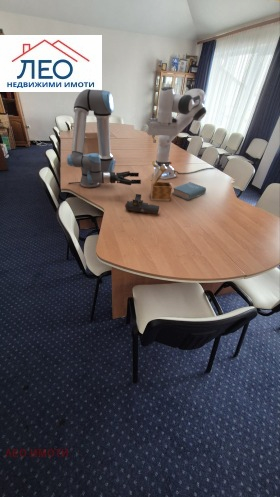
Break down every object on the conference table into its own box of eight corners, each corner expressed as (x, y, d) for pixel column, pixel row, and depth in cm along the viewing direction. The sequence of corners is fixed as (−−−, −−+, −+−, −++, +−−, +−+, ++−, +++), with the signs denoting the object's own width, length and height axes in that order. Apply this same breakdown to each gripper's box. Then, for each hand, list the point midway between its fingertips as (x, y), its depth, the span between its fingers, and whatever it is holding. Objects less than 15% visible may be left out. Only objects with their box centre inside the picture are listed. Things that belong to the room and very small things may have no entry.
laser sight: (156, 217, 143) (158, 203, 137) (123, 212, 146) (123, 198, 140) (159, 211, 151) (160, 197, 145) (127, 206, 154) (127, 192, 148)
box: (116, 165, 229) (116, 136, 213) (83, 168, 214) (80, 137, 198) (102, 154, 259) (101, 128, 243) (71, 156, 244) (68, 129, 228)
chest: (167, 195, 174) (169, 182, 168) (169, 200, 166) (172, 187, 160) (150, 194, 173) (151, 181, 167) (151, 200, 165) (153, 186, 159)
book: (188, 187, 190) (190, 182, 187) (205, 193, 181) (206, 187, 178) (172, 193, 177) (173, 187, 174) (188, 200, 168) (190, 194, 165)
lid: (164, 164, 160) (155, 157, 156) (166, 168, 152) (157, 161, 148) (152, 181, 167) (142, 174, 163) (153, 186, 159) (144, 179, 155)
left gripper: (109, 176, 168) (137, 176, 170) (110, 190, 148) (141, 190, 151) (109, 166, 163) (138, 167, 165) (109, 179, 144) (142, 179, 146)
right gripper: (149, 118, 134) (147, 143, 142) (180, 120, 138) (177, 144, 146) (146, 117, 139) (145, 141, 147) (177, 118, 142) (174, 142, 151)
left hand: (139, 178), depth 158 cm, fingers open, 13 cm apart
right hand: (161, 142), depth 146 cm, fingers open, 8 cm apart
